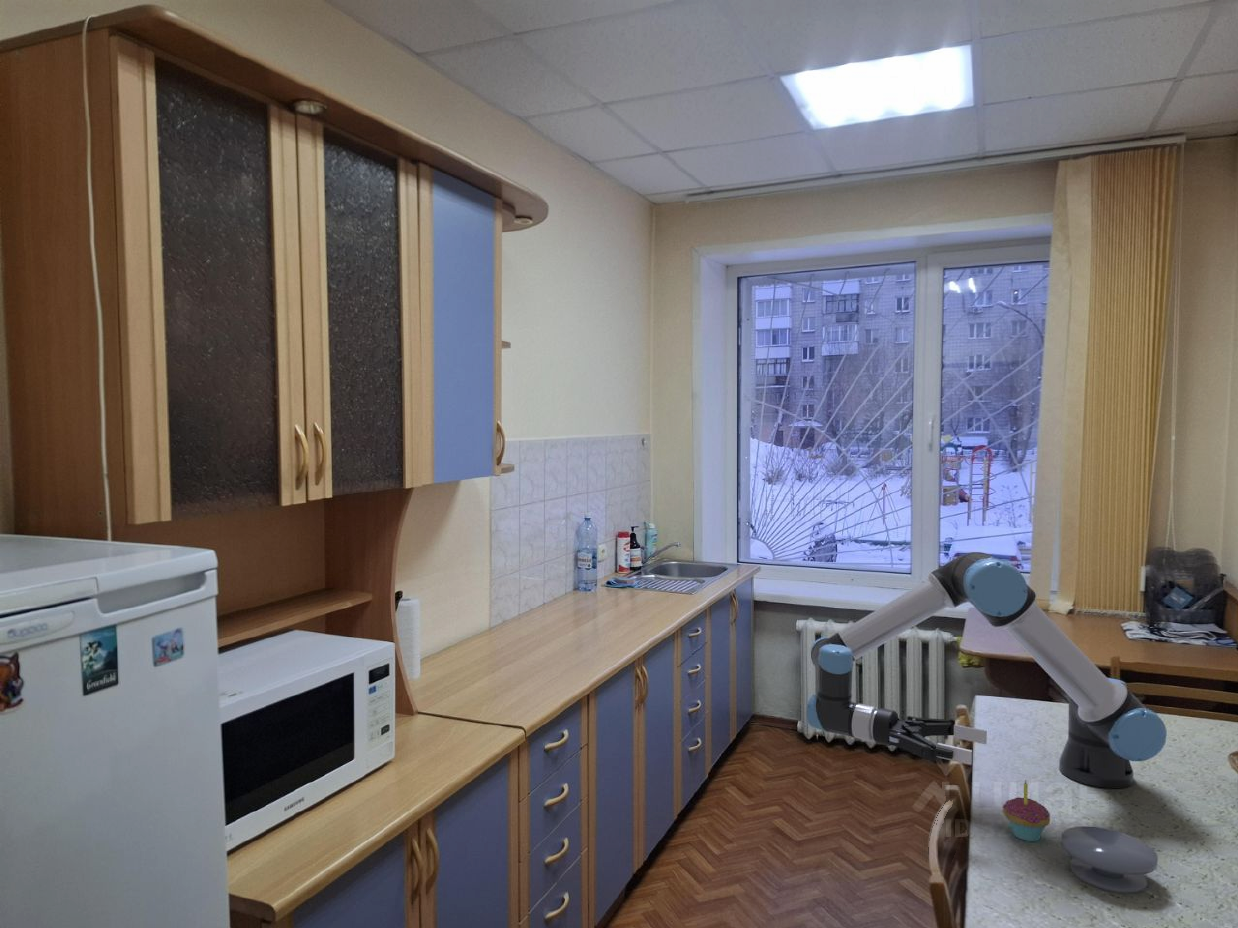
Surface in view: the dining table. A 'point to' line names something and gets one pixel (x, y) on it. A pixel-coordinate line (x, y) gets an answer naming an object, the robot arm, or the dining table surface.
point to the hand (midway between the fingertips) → (979, 747)
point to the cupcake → (1026, 817)
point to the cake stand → (1109, 859)
